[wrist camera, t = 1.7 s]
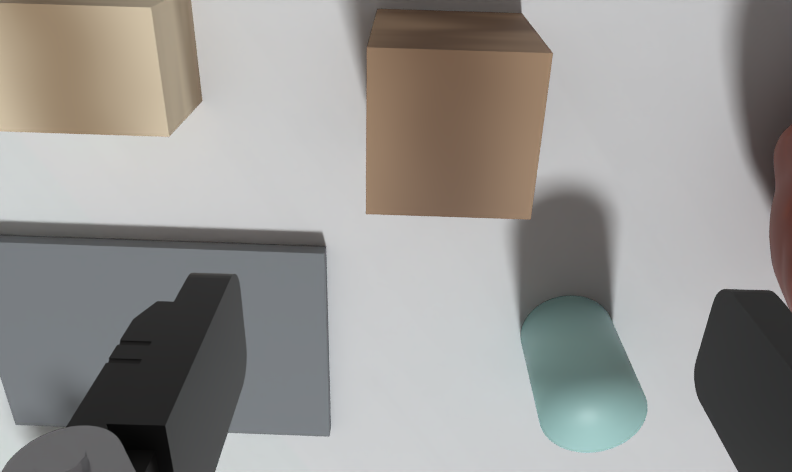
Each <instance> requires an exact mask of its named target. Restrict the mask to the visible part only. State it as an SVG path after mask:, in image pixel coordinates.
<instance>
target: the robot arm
mask: <svg viewBox="0 0 792 472" xmlns="http://www.w3.org/2000/svg"><path fill="white" fill-rule="evenodd" d="M246 364H247V348H246V337H245V328H244V318H243V308H242V299H241V289H240V282H239V278H238V276H237V275H236V274H226V273H190V274H189V275H188V277H187V279H186V280H185V282H184V284H183V286H182V288H181V289H180V291H179V293H178V295H177V297H176V299H175V300H174V302H170V301H157V302H155V303H154V304H153V305H151V306H150V307H149V308H147V309H146V310H145V311H143V312H142V313H141V314H139V315H138V316H137V317H135V318H134V319H133V320H132V322H131V323H130V325H129V326H128V328H127V330H126V331H125V333H124V334H123V336H122V338H121V339H120V344H119V345H117V346H116V347H115V349H114V351H113V352H112V354H111V355H110V357H109V362H108V363H105V365H104V367H103V368H102V370H101V371H100V373H99V375H98V376H97V378H96V380H95V381H94V383H93V384H92V386H91V388H90V389H89V391H88V392H87V394H86V396H85V397H84V399H83V400H82V402H81V404H80V405H79V407H78V408H77V410H76V412H75V413H74V415H73V416H72V418H71V420H70V421H69V423H68V425H67V426H66V428H62V429H58V430H55V431H52V432H49V433H47V434H45V435H43V436H40V437H38V438H37V439H35V440H33V441H31V442H30V443H28V444H27V445H25V446H24V447H23V448H21V449H20V450H19V451H18V452H17V453H16V454H15V455H13V457H12V458H11V459H10V460H9V461H8V462H7V464H6V465H5V467H4V469H3V470H2V472H215V470H216V467H217V464H218V461H219V458H220V455H221V452H222V448H223V445H224V442H225V439H226V436H227V433H228V430H229V427H230V424H231V421H232V418H233V415H234V412H235V409H236V406H237V403H238V400H239V396H240V393H241V390H242V387H243V384H244V379H245V374H246ZM694 381H695V388H696V393H697V396H698V399H699V401H700V403H701V405H702V406H703V408H704V410H705V412H706V414H707V416H708V417H709V419H710V421H711V423H712V425H713V427H714V428H715V430H716V432H717V434H718V436H719V438H720V439H721V441H722V443H723V445H724V447H725V448H726V450H727V452H728V454H729V456H730V458H731V459H732V461H733V463H734V465H735V467H736V469H737V470H738V472H792V312H791V311H790V309H789V308H788V307H787V306H786V305H785V304H784V303H783V301H782V300H781V299H780V298H779V297H778V296H777V295H776V294H775V293H774V292H772V291H769V290H737V289H723V290H721V291H720V292H718V294H717V295H716V297H715V299H714V302H713V305H712V308H711V312H710V315H709V318H708V322H707V325H706V329H705V332H704V335H703V339H702V342H701V346H700V349H699V352H698V356H697V359H696V363H695V369H694Z"/></svg>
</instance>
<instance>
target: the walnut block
mask: <svg viewBox="0 0 792 472" xmlns="http://www.w3.org/2000/svg"><path fill="white" fill-rule="evenodd" d="M552 56H553V53H552V51H551V50H550V49H549V48H548V46H547V45H546V44H545V42H544V41H543V40H542V39H541V37H540V36H539V35H538V33H537V32H536V31H535V30H534V28H533V27H532V26H531V24H530V23H529V22H528V21H527V19H526V18H525V17H524V15H523V14H522V13H498V12H466V11H433V10H401V9H377V12H376V16H375V19H374V23H373V27H372V30H371V34H370V38H369V41H368V45H367V113H366V214H381V215H411V216H441V217H471V218H501V219H531V213H532V206H533V198H534V191H535V183H536V176H537V168H538V161H539V153H540V146H541V138H542V131H543V123H544V116H545V108H546V101H547V93H548V86H549V78H550V71H551V64H552Z"/></svg>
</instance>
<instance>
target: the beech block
mask: <svg viewBox="0 0 792 472" xmlns="http://www.w3.org/2000/svg"><path fill="white" fill-rule="evenodd" d="M201 102H202V94H201V85H200V76H199V67H198V59H197V50H196V41H195V32H194V23H193V14H192V5H191V0H0V131H7V132H38V133H69V134H100V135H131V136H161V137H169V136H170V135H171V134H172V133H173V132H174V131H175V130H176V129H177V128H178V127H179V126H180V125H181V123H182V122H183V121H184V120H185V119H186V118H187V117H188V116H189V115H190V114H191V113H192V112H193V110H194V109H195V108H196V107H197V106H198V105H199V104H200V103H201Z"/></svg>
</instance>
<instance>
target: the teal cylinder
mask: <svg viewBox="0 0 792 472" xmlns="http://www.w3.org/2000/svg"><path fill="white" fill-rule="evenodd" d="M521 343H522V348H523V352H524V356H525V361H526V365H527V369H528V374H529V378H530V383H531V387H532V391H533V396H534V400H535V404H536V409H537V413H538V418H539V422H540V426H541V428H542V430H543V432H544V434H545V435H546V436H547V437H548V438H549V440H551V441H552V442H553V443H554V444H556V445H558V446H560V447H562V448H564V449H567V450H570V451H575V452H584V453H590V452H599V451H604V450H608V449H611V448H614V447H616V446H619V445H620V444H622V443H624V442H626V441H627V440H629V439H630V438H631V437H632V436H634V435H635V434H636V433H637V431H638V430H639V429H640V428H641V426H642V425H643V423H644V421H645V418H646V415H647V400H646V397H645V395H644V392H643V390H642V388H641V386H640V383H639V381H638V379H637V377H636V374H635V372H634V370H633V368H632V365H631V363H630V361H629V359H628V356H627V354H626V352H625V349H624V347H623V345H622V343H621V340H620V338H619V336H618V334H617V331H616V329H615V327H614V325H613V322H612V320H611V318H610V316H609V314H608V312H607V311H606V310H605V309H604V308H603V307H602V306H601V305H600V304H598V303H597V302H595V301H593V300H591V299H588V298H586V297H581V296H561V297H557V298H553V299H550V300H548V301H546V302H544V303H542V304H540V305H539V306H537V307H536V308H535V309H534V310H533V311H532V312H531V313H530V314H529V315H528V317H527V318H526V320H525V321H524V323H523V326H522V330H521Z"/></svg>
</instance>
